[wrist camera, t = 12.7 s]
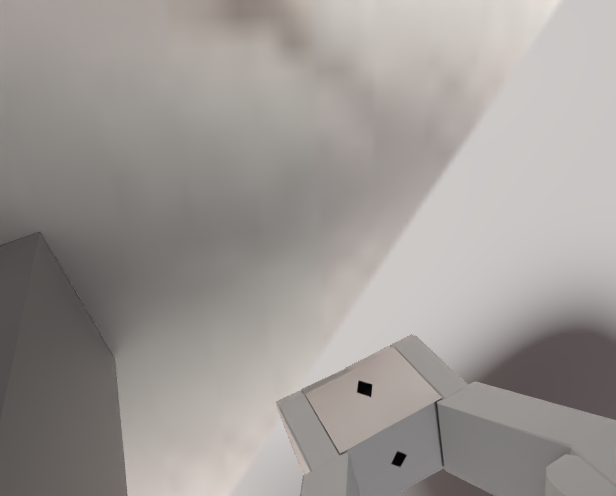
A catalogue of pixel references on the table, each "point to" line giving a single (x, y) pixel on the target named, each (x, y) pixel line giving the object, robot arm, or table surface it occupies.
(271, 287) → the table surface
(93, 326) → the tile
